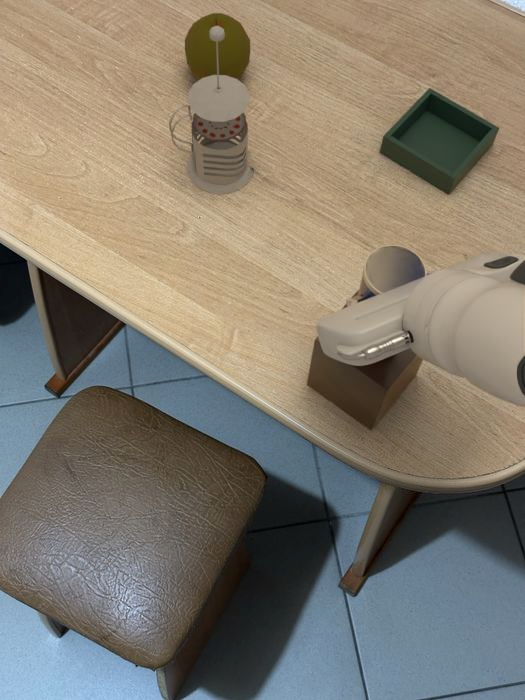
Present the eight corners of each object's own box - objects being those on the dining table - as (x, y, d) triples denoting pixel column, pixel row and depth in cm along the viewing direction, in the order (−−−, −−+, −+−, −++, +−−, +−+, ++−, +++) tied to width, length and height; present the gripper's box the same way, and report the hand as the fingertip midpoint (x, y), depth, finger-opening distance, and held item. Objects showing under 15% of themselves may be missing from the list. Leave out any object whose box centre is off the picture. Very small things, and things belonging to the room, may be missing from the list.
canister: (415, 325, 93) (438, 266, 83) (384, 364, 91) (404, 308, 80) (370, 295, 95) (386, 234, 84) (338, 333, 93) (351, 274, 82)
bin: (491, 148, 124) (499, 127, 120) (447, 198, 119) (454, 179, 115) (423, 108, 127) (429, 87, 123) (378, 156, 122) (383, 135, 118)
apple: (235, 108, 126) (235, 51, 116) (176, 90, 127) (171, 32, 117) (259, 62, 130) (261, 4, 120) (201, 45, 131) (198, -14, 122)
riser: (416, 374, 106) (436, 328, 96) (371, 431, 102) (387, 390, 92) (352, 330, 109) (365, 281, 98) (306, 384, 105) (314, 339, 94)
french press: (261, 188, 119) (266, 52, 97) (180, 200, 118) (166, 65, 95) (247, 136, 123) (249, -6, 101) (169, 147, 122) (154, 6, 100)
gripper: (360, 395, 73) (303, 355, 86) (555, 312, 78) (473, 285, 90) (343, 329, 71) (286, 298, 84) (543, 248, 75) (461, 230, 88)
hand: (384, 291), depth 87 cm, fingers closed on canister, 6 cm apart
